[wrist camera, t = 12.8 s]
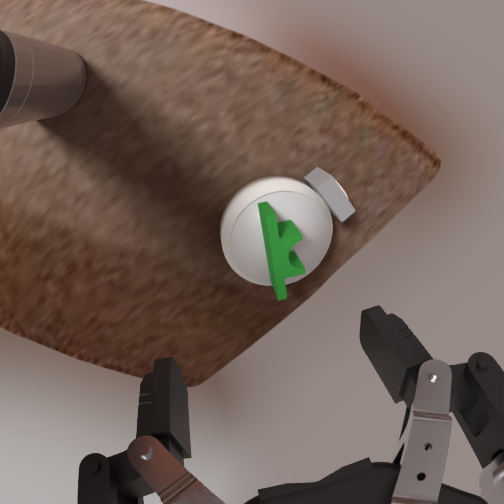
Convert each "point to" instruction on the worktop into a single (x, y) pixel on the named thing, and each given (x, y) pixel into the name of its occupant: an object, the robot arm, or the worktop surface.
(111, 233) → the worktop surface
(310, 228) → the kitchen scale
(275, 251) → the pipe clamp
